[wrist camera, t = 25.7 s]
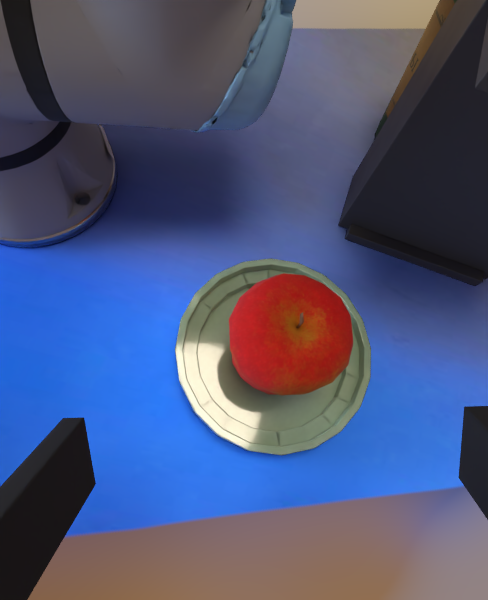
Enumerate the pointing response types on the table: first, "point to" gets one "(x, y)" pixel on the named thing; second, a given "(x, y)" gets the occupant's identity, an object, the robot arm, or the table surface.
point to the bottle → (419, 53)
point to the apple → (290, 335)
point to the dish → (243, 397)
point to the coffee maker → (432, 159)
